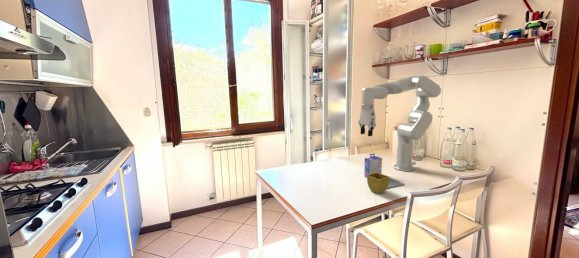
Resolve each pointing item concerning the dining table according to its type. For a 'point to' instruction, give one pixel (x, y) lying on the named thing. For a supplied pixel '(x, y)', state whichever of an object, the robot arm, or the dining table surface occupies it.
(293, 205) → the dining table surface
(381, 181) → the flower pot
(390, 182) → the mat
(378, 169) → the ink cartridge box
